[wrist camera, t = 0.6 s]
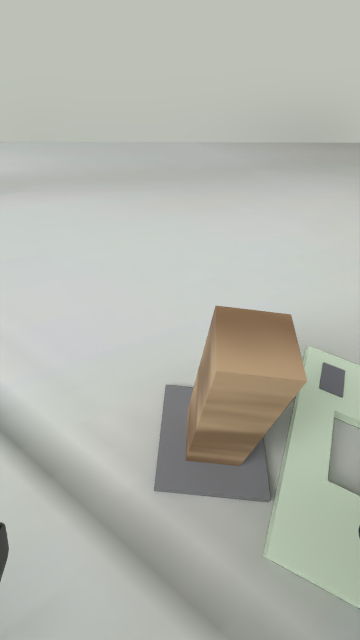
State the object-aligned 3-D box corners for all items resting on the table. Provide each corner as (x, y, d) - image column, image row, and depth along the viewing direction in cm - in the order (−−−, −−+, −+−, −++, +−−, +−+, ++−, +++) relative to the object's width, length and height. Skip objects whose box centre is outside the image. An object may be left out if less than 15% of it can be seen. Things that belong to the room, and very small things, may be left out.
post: (239, 466, 22) (307, 381, 13) (185, 460, 22) (216, 370, 13) (236, 414, 25) (291, 314, 16) (188, 409, 25) (215, 305, 16)
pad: (267, 502, 21) (270, 500, 21) (154, 490, 21) (154, 488, 21) (256, 398, 27) (258, 394, 26) (165, 388, 27) (165, 384, 26)
